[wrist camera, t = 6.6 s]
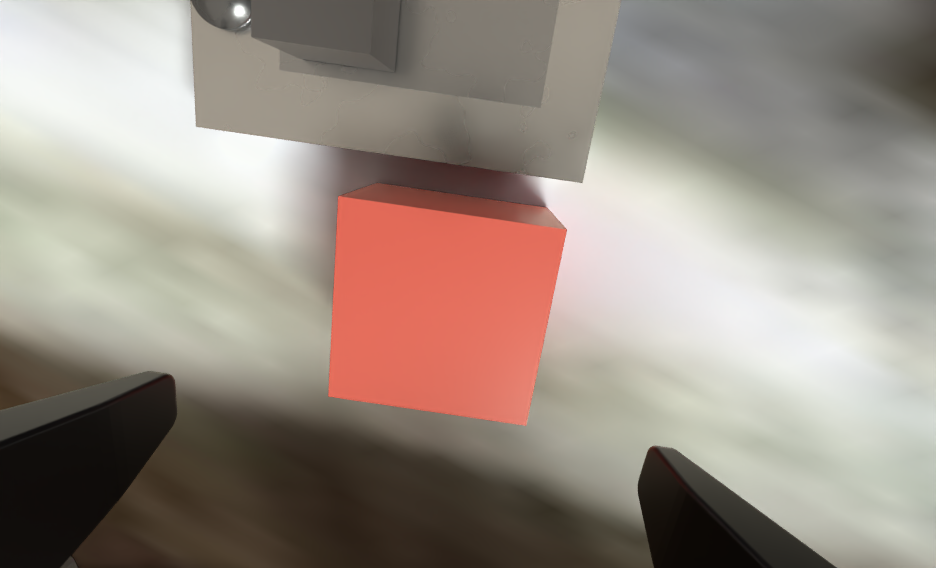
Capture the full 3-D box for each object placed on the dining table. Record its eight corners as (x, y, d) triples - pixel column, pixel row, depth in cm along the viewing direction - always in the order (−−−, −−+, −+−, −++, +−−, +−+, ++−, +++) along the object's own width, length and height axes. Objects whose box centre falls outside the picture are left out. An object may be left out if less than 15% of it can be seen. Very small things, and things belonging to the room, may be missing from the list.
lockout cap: (547, 207, 17) (566, 229, 13) (517, 361, 19) (526, 425, 15) (376, 182, 17) (338, 196, 13) (365, 338, 19) (328, 396, 15)
